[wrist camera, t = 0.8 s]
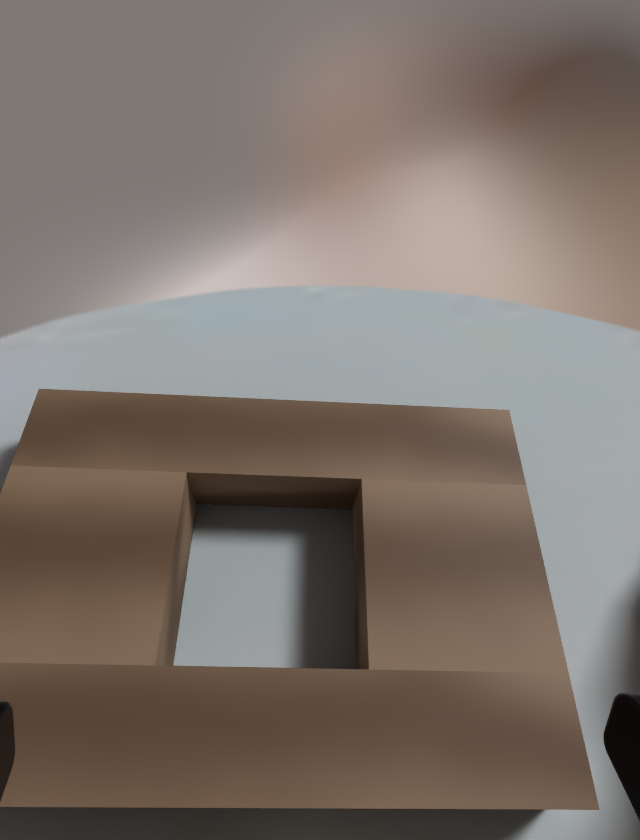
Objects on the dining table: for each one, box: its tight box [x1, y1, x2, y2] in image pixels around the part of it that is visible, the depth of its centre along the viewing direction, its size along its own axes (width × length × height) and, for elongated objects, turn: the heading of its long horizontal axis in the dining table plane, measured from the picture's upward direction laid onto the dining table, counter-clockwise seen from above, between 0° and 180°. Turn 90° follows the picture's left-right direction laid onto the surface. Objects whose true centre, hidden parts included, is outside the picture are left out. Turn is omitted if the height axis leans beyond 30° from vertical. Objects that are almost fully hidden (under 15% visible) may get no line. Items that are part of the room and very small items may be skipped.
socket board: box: [0, 389, 599, 810], centre depth 20 cm, size 14×20×3 cm
